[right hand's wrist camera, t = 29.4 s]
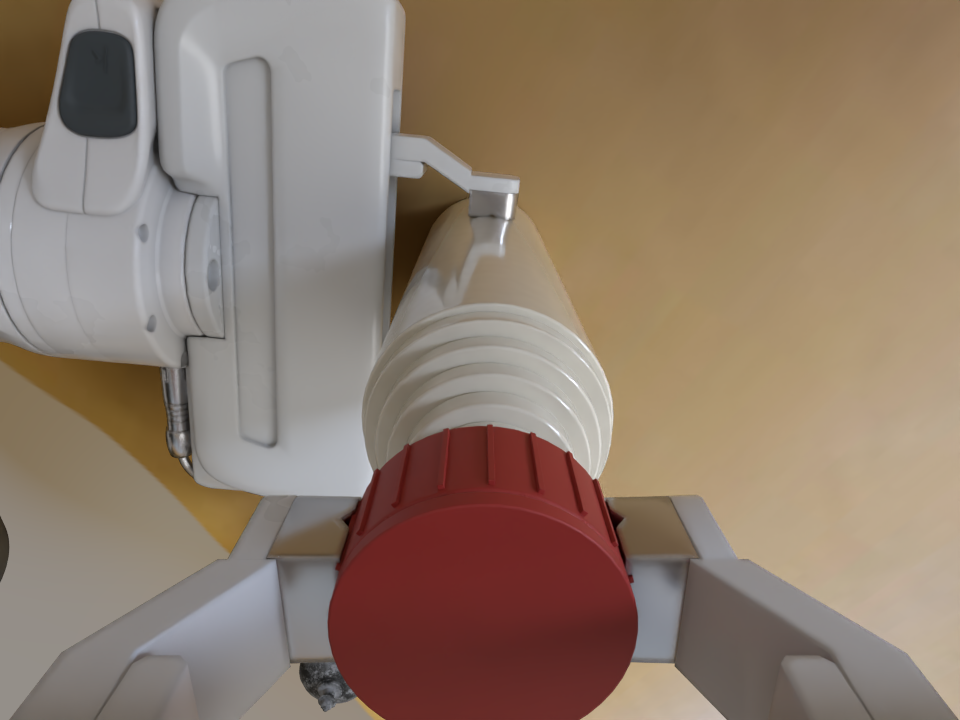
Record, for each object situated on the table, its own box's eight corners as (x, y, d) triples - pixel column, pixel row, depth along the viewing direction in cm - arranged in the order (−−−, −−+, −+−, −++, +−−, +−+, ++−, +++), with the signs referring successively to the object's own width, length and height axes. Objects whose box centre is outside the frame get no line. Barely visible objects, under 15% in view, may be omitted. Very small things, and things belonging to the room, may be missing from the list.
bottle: (431, 317, 31) (327, 753, 10) (418, 200, 29) (256, 442, 8) (545, 308, 31) (682, 735, 10) (540, 191, 29) (699, 412, 8)
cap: (646, 588, 11) (683, 696, 9) (422, 665, 11) (411, 781, 9) (554, 380, 9) (574, 452, 7) (306, 480, 10) (263, 571, 8)
